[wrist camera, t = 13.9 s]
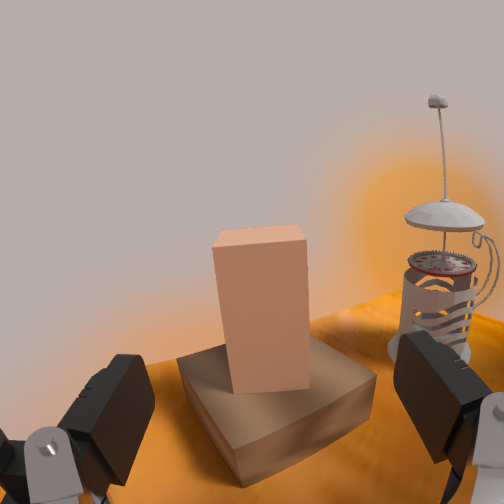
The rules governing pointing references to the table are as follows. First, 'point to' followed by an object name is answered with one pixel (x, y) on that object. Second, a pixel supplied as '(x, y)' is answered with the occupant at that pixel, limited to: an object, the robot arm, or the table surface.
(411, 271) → the french press
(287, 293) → the terracotta block
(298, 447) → the walnut block
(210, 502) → the table surface
